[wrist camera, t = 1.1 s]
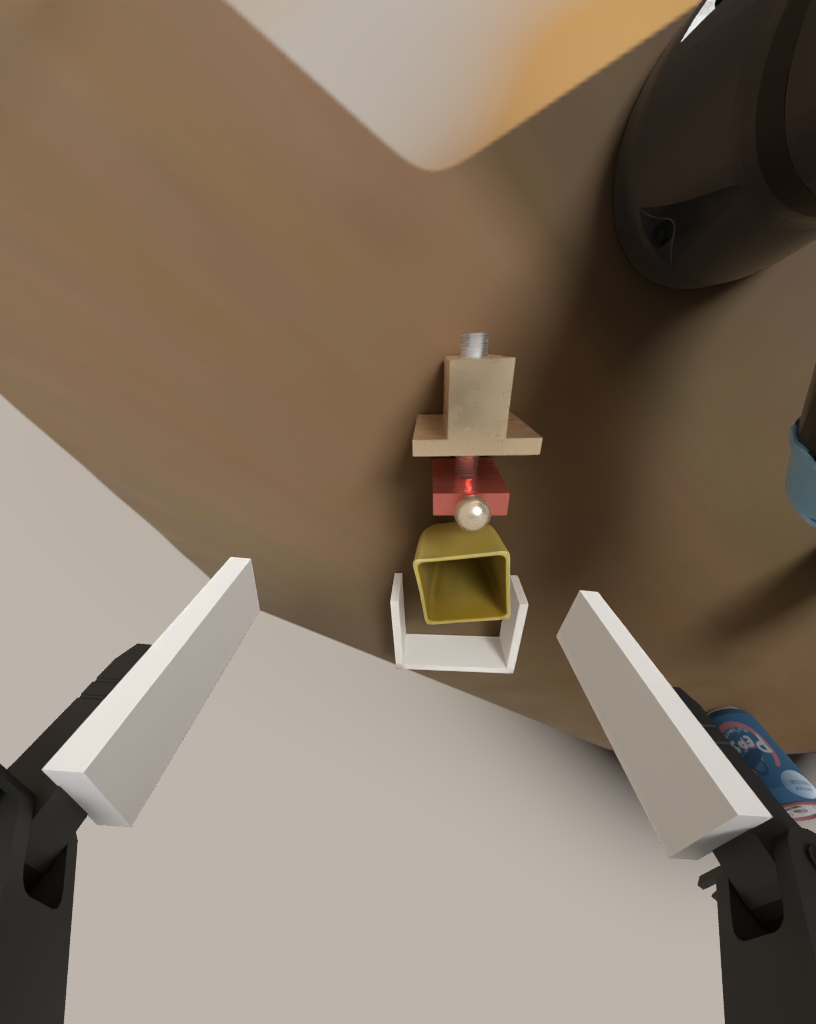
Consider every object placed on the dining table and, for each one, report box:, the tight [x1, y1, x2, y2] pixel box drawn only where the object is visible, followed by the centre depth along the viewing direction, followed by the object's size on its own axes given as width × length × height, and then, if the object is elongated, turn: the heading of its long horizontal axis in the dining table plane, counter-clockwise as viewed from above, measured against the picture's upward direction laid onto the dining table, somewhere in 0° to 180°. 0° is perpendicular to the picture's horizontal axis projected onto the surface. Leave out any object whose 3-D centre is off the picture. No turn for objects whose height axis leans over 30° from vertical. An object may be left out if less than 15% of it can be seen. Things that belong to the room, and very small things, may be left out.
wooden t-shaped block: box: [412, 333, 543, 531], centre depth 24 cm, size 9×13×11 cm
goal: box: [390, 573, 529, 673], centre depth 40 cm, size 16×13×5 cm
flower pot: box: [413, 522, 511, 624], centre depth 32 cm, size 9×9×9 cm
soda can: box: [707, 707, 816, 821], centre depth 45 cm, size 7×7×12 cm
